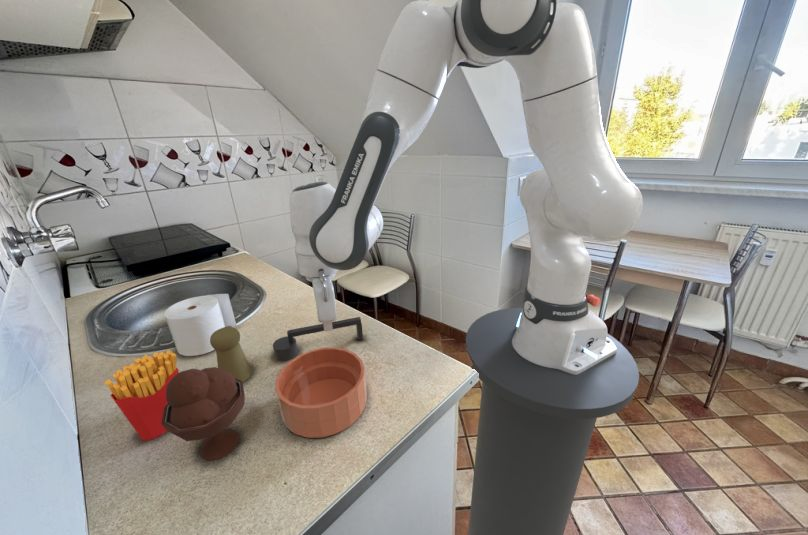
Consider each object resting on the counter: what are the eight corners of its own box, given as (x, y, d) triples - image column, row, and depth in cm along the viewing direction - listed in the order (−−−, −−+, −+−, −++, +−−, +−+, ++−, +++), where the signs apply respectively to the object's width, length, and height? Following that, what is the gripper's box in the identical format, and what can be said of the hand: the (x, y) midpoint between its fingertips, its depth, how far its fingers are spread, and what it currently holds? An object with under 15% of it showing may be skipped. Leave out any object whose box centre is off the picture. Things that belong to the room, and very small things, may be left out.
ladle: (274, 363, 70) (269, 341, 68) (275, 349, 75) (270, 328, 72) (364, 343, 76) (363, 323, 74) (360, 332, 80) (359, 312, 78)
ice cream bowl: (213, 490, 45) (182, 410, 39) (165, 460, 50) (130, 384, 44) (271, 431, 54) (252, 359, 48) (225, 409, 59) (203, 341, 53)
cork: (249, 382, 65) (236, 337, 61) (216, 388, 63) (201, 342, 59) (253, 363, 70) (242, 320, 66) (223, 369, 69) (210, 325, 65)
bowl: (358, 368, 68) (355, 340, 65) (375, 425, 55) (372, 393, 52) (283, 385, 64) (276, 357, 61) (281, 452, 51) (273, 419, 48)
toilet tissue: (166, 356, 73) (151, 318, 69) (200, 326, 84) (190, 292, 80) (210, 357, 72) (198, 319, 69) (239, 327, 83) (230, 293, 80)
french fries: (138, 448, 52) (107, 386, 47) (129, 435, 54) (99, 374, 49) (199, 411, 58) (177, 352, 53) (188, 400, 61) (167, 344, 56)
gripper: (341, 279, 59) (347, 341, 65) (328, 245, 77) (334, 296, 83) (305, 284, 58) (314, 347, 63) (301, 248, 75) (309, 300, 81)
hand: (325, 318), depth 73 cm, fingers open, 8 cm apart
